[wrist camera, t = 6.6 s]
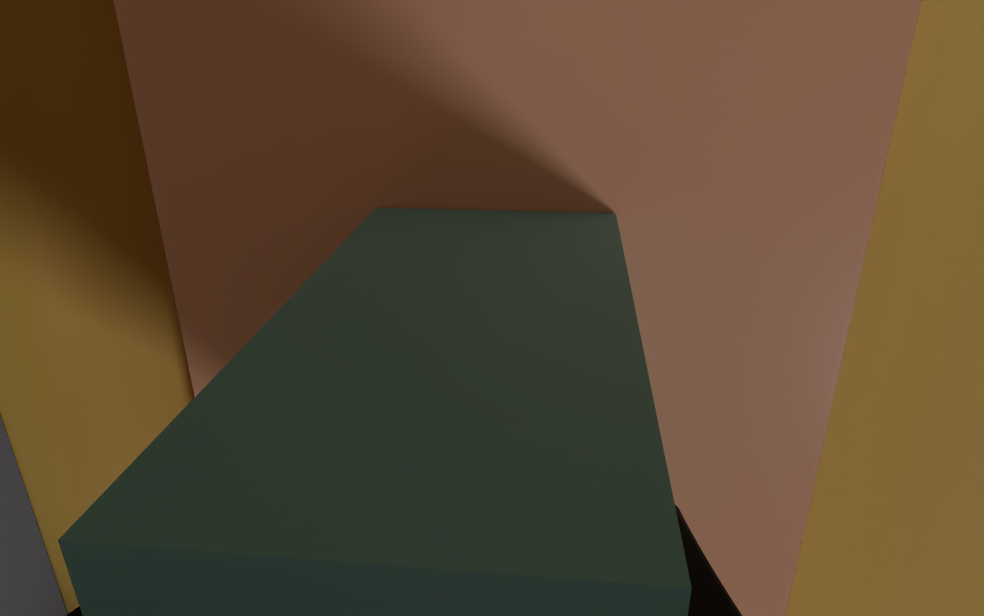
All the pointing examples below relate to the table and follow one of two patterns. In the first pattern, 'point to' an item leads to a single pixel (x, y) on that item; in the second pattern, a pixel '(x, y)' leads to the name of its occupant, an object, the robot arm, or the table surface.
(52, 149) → the table surface
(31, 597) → the pocket board
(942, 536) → the table surface
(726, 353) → the terracotta tile
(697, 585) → the robot arm
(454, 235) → the teal block
